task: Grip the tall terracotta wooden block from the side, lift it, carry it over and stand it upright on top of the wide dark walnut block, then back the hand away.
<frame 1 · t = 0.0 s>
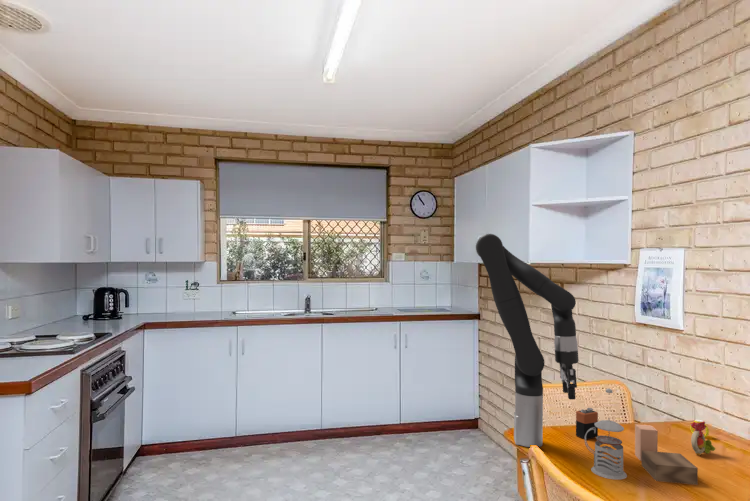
hand: (569, 395, 164), 17 cm above the table, tool pointing down, fingers open, 8 cm apart
french press: (605, 472, 144), on the table
terracotta block: (645, 458, 155), on the table
walnut block: (668, 475, 143), on the table
battery: (586, 437, 174), on the table
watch: (699, 436, 177), on the table
bird rattle: (700, 454, 160), on the table
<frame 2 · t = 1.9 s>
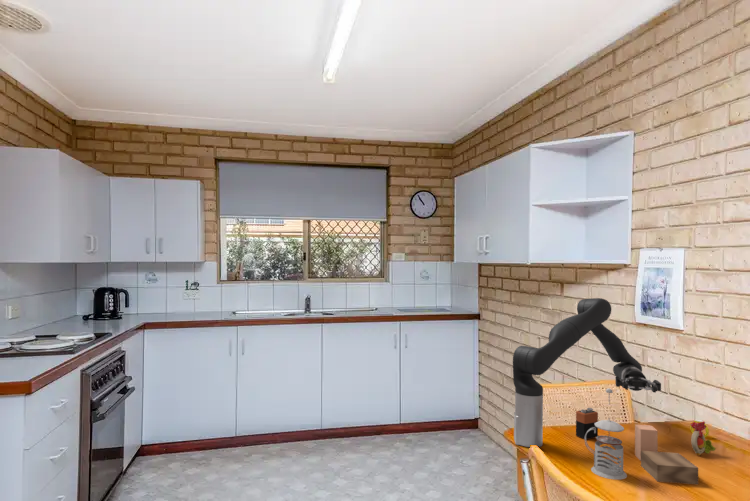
hand: (640, 388, 166), 20 cm above the table, tool horizontal, fingers open, 8 cm apart
nothing on the table moved.
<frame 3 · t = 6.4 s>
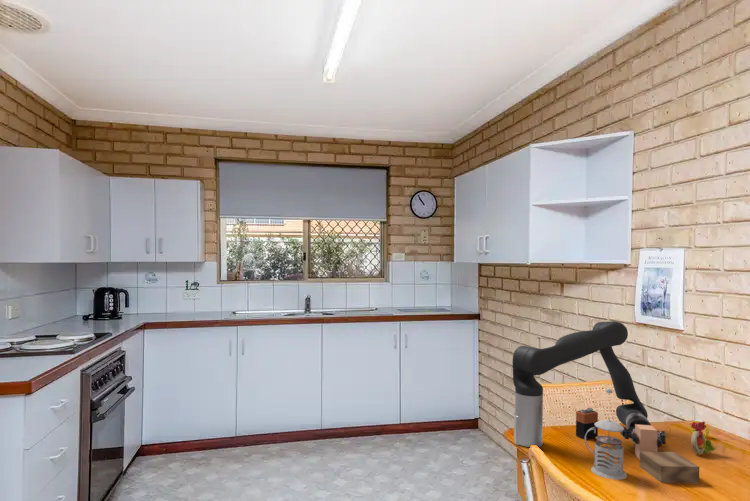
hand: (647, 442, 153), 6 cm above the table, tool horizontal, fingers closed on terracotta block, 5 cm apart
terracotta block: (646, 458, 155), on the table, touching gripper
when the fingers open (12 cm above the table, at t = 11.0 s): terracotta block drops 2 cm, resting on walnut block.
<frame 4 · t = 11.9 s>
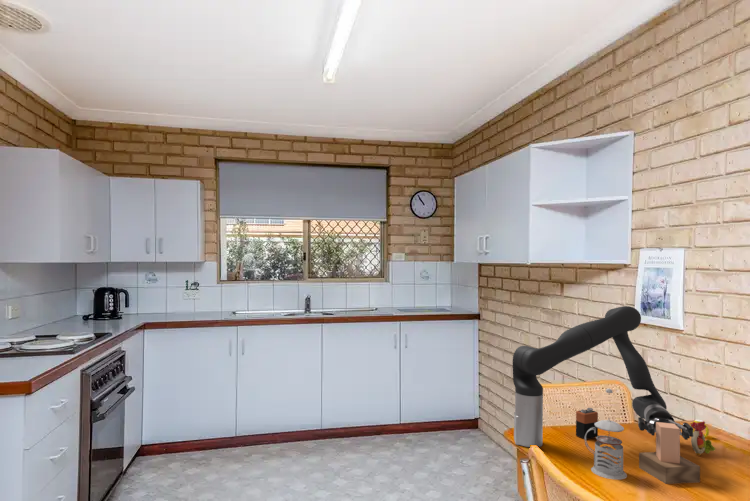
hand: (669, 434, 141), 13 cm above the table, tool horizontal, fingers open, 8 cm apart
terracotta block: (667, 459, 143), point 5 cm above the table, touching walnut block
walnut block: (668, 476, 142), on the table, touching terracotta block
everything else where it was.
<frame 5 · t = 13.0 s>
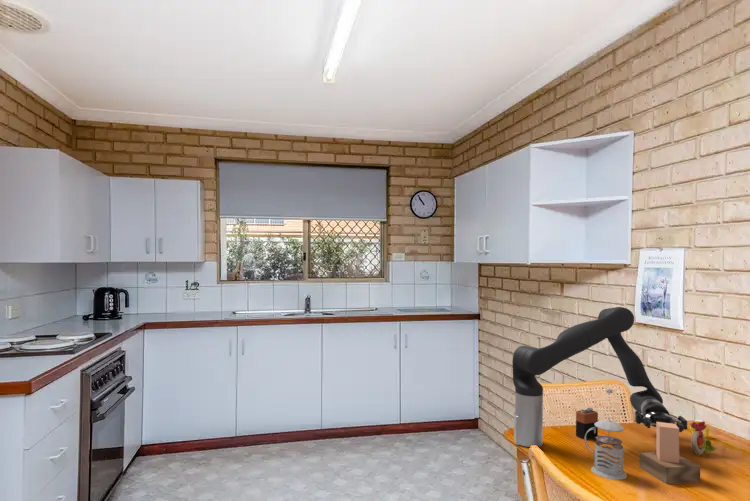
hand: (664, 427, 148), 13 cm above the table, tool horizontal, fingers open, 8 cm apart
nothing on the table moved.
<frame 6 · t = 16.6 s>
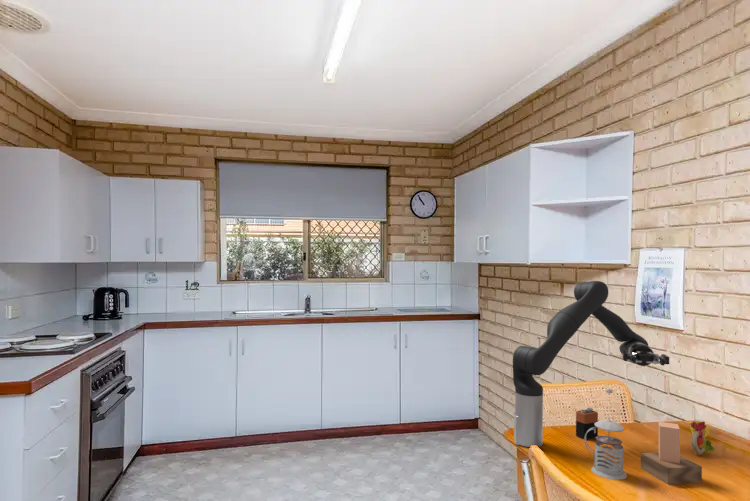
hand: (648, 361, 163), 30 cm above the table, tool horizontal, fingers open, 8 cm apart
terracotta block: (669, 459, 143), point 5 cm above the table
walnut block: (670, 476, 142), on the table
everything else where it was.
at the end: terracotta block 0.4 cm off-centre on the walnut block, point 5.0 cm above the walnut block's base; terracotta block tilted 0°; the gripper is holding nothing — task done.
